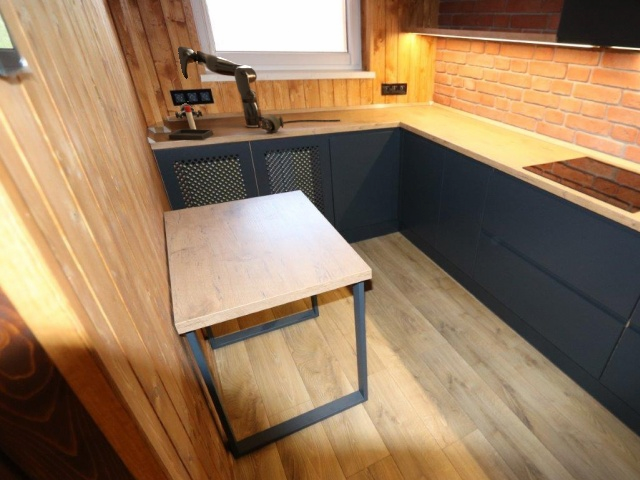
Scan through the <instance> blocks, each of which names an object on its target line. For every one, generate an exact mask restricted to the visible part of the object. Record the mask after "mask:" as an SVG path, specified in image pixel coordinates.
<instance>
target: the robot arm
mask: <svg viewBox="0 0 640 480" xmlns="http://www.w3.org/2000/svg"><path fill="white" fill-rule="evenodd" d="M178 47H179V48H178ZM178 47H177V48H178V52H179V53H178V54H179V59H180V64H181V69H182V73H183V75H184V77H185V78H186V79H187V78H188V75H189V73H188V65H190V64H189V63H193V62H196V61H198V64H197V65H198V66H203V67H205V68H206V69H207V70H208V71H210V72H212V73H214V74H217V75H220V76H226V77H234V80H235V84H236V88H237V91H238V94H239V95H240V100H241V105H242V110H243V115H244V116H243V117H244V120H245V126H246V127H247V128H251V129H252V128H253V129H255V128H262V127H263V126H262V119H261V117H264V116H265V114H264V115H262V111H261V109H260V106H259V101H258V95H257V92H256V91H255V90H253V89H252V88H251V86H250V85H251V84H253V83H254V82H256V81H257V78H258V75H257V72H256V71H255V69H254V68H253V67H251V66H249V65H244V64H239V63H235V62H233V61H231V60H228V59H225V58H223V57H220V56H216V55H214V54H210V53H205V52H203V51H201V50H199V51H197V54H196V53H195V52H194V51H193V50H192V49H190V48H187V47H188V46H187V47H184V45H180V46H178ZM184 106H190V108H191V111H192V116H193V118H200V117H203V113H202V112H203V111H202V110H200V109H197V111H196V110H195V111H194V109H193V108H192V106H191V105H189V104H187V103H184V104H182V105H181V106H180V111H181V112H179V111H175V112H174V115H175V118H176V119H182V120H183V119H187V115H186V112H185V109H184ZM187 120H188V119H187ZM299 122H301V123H302V122H341V119H296V120H294V119H293V120H287V121H283V123H284V124H287V123H299Z"/></svg>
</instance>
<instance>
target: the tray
mask: <svg viewBox="0 0 640 480" xmlns="http://www.w3.org/2000/svg"><path fill="white" fill-rule="evenodd" d="M212 135H214V132H213V129H204V128H203V129H201V128H199V129H197V128H196V129H190V128H179V129H177V130H175V131H173V132H171V133H169V134H168V138H169V140H183V141H184V140H187V141H204V140H206V139H207V138H209V137H211V136H212Z"/></svg>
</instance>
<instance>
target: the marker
mask: <svg viewBox="0 0 640 480" xmlns="http://www.w3.org/2000/svg"><path fill="white" fill-rule="evenodd" d="M184 109H185V112H186V115H187V123H188V125H189V129H197V126H196V123H195V120H194V117H193V116H192V111H191V108H190V106H184Z"/></svg>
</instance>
